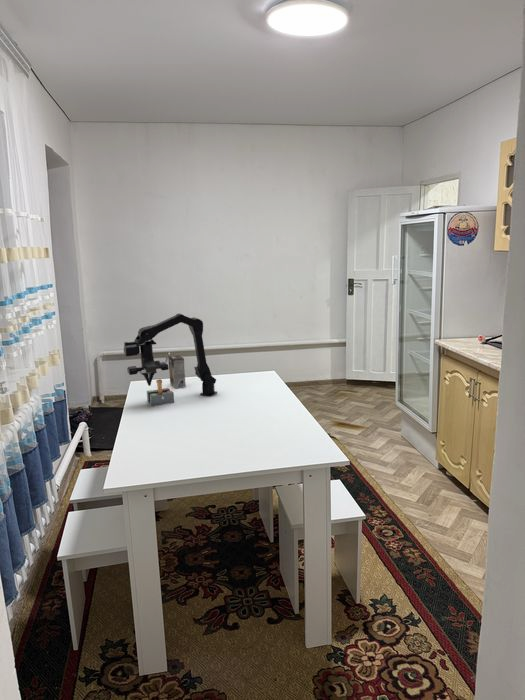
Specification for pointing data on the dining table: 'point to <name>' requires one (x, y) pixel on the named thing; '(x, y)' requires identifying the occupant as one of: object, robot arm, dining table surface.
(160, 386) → the breaker handle
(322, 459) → the dining table surface
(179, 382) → the coffee box
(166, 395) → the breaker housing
